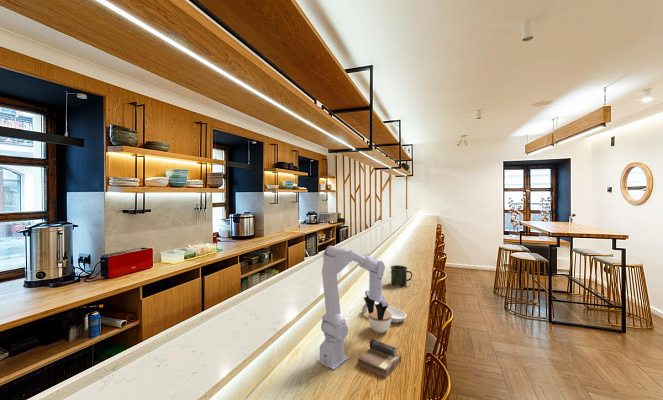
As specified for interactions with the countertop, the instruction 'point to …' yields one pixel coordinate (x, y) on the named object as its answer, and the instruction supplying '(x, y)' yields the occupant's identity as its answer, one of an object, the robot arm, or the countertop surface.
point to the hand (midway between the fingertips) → (375, 316)
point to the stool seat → (379, 362)
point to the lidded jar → (379, 321)
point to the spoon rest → (396, 313)
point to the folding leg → (383, 348)
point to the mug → (399, 275)
